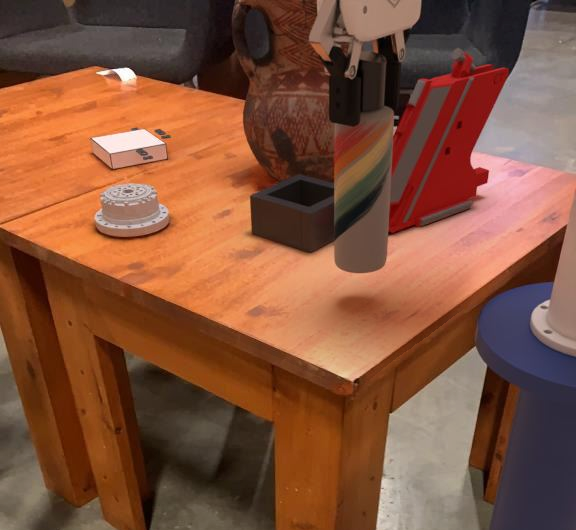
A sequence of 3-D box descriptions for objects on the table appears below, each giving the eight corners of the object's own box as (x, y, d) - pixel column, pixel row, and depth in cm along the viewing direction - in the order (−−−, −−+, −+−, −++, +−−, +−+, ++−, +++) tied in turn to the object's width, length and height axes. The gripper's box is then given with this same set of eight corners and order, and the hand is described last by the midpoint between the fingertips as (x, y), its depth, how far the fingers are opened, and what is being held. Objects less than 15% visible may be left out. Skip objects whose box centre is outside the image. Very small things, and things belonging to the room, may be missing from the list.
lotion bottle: (342, 250, 86) (344, 45, 72) (392, 255, 84) (403, 46, 71) (327, 271, 82) (327, 58, 69) (379, 277, 80) (388, 60, 67)
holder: (357, 228, 102) (359, 189, 99) (310, 253, 96) (310, 213, 93) (299, 210, 107) (299, 173, 103) (251, 233, 101) (249, 195, 98)
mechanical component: (81, 226, 104) (129, 245, 99) (74, 193, 101) (123, 211, 96) (136, 205, 109) (185, 221, 105) (132, 173, 107) (181, 188, 102)
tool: (358, 244, 95) (444, 19, 84) (328, 229, 97) (408, 10, 87) (458, 269, 112) (540, 87, 102) (430, 256, 115) (507, 77, 105)
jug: (330, 144, 128) (333, -38, 112) (416, 178, 116) (434, -22, 99) (218, 173, 119) (203, -21, 102) (298, 213, 106) (295, -1, 89)
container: (82, 144, 131) (79, 127, 129) (145, 133, 135) (143, 117, 133) (123, 180, 118) (121, 161, 116) (192, 166, 122) (190, 148, 120)
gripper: (344, -124, 55) (341, 145, 67) (467, -138, 64) (445, 100, 76) (265, -123, 58) (276, 132, 70) (392, -137, 68) (383, 90, 80)
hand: (364, 113), depth 73 cm, fingers closed on lotion bottle, 5 cm apart
